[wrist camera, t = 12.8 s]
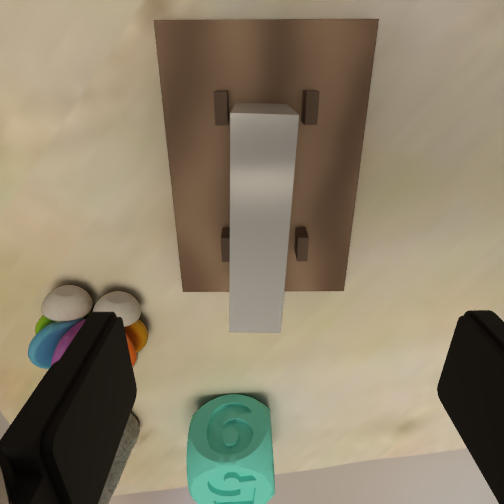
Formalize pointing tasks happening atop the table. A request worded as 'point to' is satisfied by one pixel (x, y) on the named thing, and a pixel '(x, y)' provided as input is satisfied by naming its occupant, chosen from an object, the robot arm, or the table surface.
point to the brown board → (308, 139)
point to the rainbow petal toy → (81, 322)
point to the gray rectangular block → (260, 212)
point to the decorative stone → (120, 458)
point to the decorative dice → (231, 452)
